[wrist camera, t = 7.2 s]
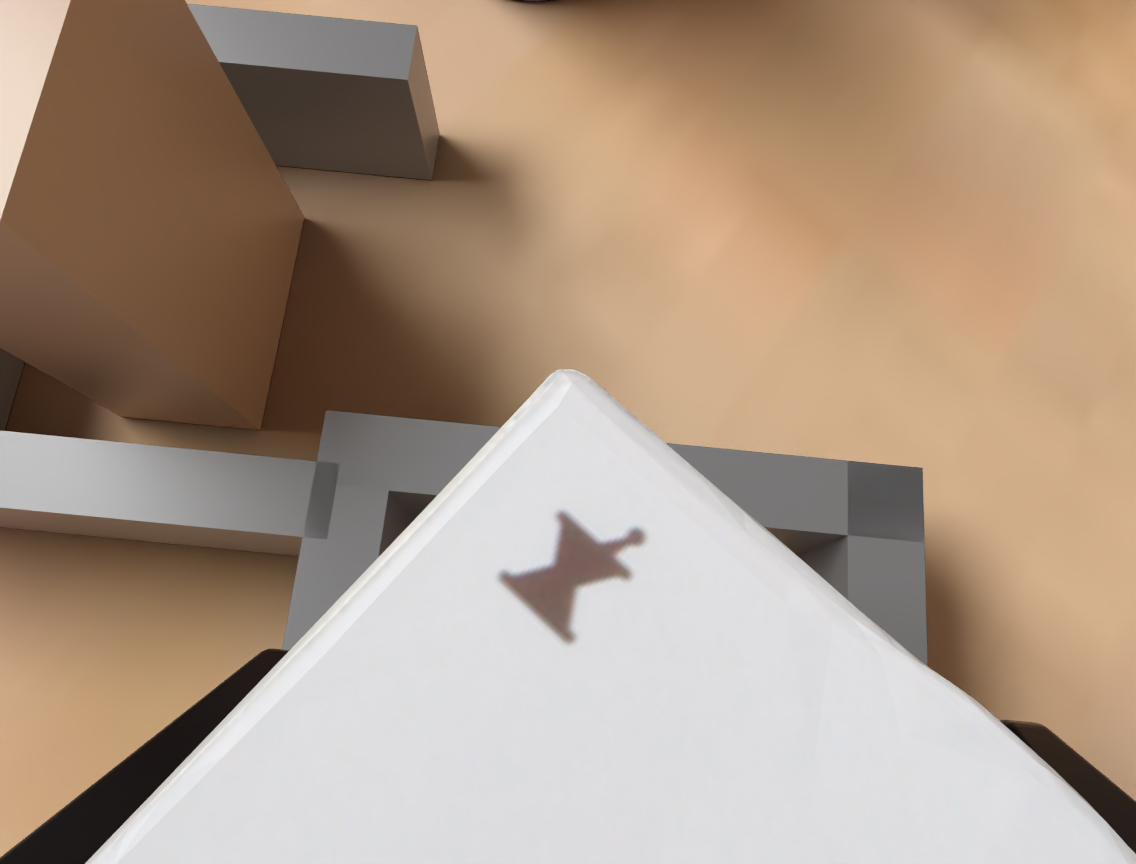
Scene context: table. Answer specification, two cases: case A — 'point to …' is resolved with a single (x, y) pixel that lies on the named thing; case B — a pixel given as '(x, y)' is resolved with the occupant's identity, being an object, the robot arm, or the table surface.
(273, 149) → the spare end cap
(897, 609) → the end cap
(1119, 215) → the table surface
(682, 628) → the skincare box
